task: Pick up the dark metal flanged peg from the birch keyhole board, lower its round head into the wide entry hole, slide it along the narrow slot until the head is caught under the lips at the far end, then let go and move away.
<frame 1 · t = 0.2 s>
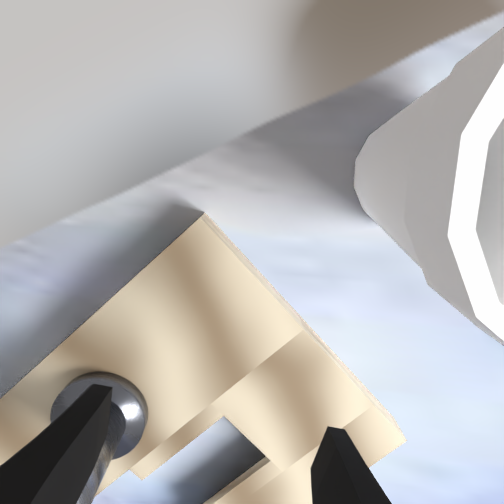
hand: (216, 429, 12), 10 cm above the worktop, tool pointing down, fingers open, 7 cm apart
keyhole board: (176, 426, 24), on the worktop
peg: (103, 411, 21), point 2 cm above the worktop, touching keyhole board
foam cup: (408, 173, 21), on the worktop
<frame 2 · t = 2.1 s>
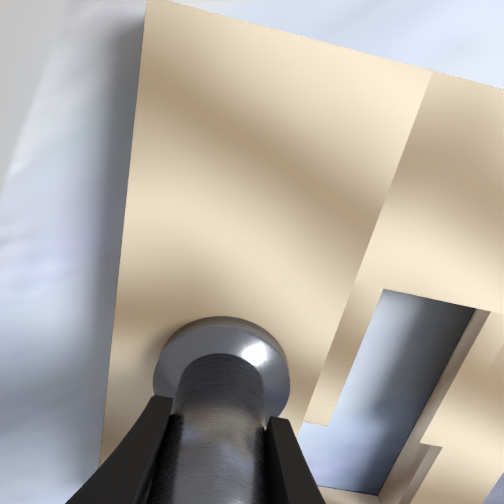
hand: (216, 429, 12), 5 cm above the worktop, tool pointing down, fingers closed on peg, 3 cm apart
keyhole board: (328, 341, 17), on the worktop
peg: (223, 371, 15), point 2 cm above the worktop, touching gripper, keyhole board
when the fingers open (3 cm above the worktop, at t = 7.5 s): peg stays where it is, resting in keyhole board.
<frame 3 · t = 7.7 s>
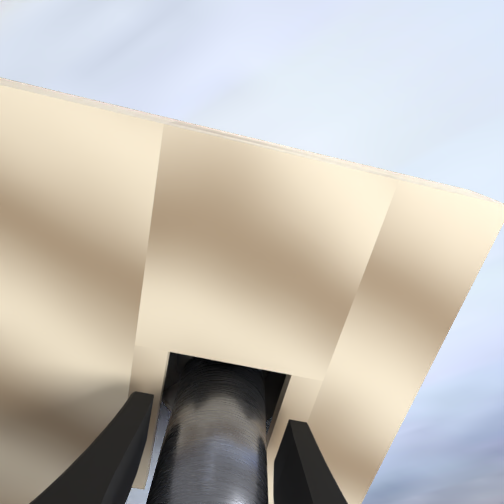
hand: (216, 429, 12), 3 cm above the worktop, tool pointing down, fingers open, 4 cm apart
keyhole board: (156, 395, 15), on the worktop
peg: (224, 366, 15), resting in keyhole board
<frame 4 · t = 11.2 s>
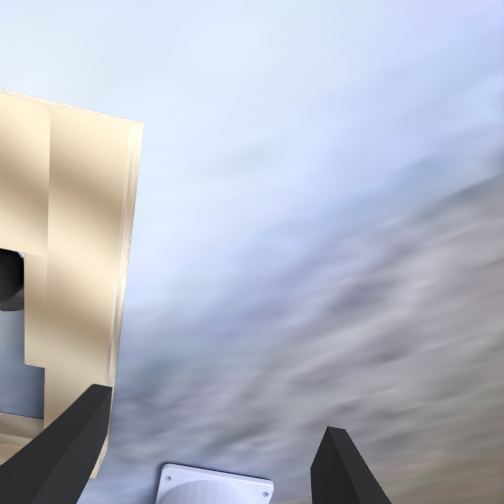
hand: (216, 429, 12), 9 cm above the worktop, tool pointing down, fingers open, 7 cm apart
peg: (8, 261, 20), resting in keyhole board
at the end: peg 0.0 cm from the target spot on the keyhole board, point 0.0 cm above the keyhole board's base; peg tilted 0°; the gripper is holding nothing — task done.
